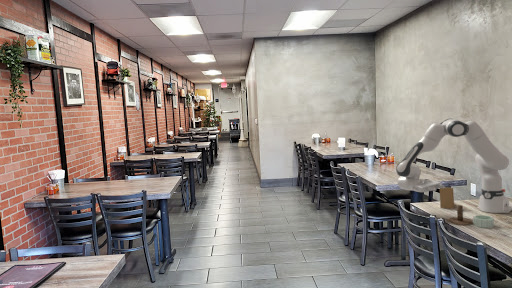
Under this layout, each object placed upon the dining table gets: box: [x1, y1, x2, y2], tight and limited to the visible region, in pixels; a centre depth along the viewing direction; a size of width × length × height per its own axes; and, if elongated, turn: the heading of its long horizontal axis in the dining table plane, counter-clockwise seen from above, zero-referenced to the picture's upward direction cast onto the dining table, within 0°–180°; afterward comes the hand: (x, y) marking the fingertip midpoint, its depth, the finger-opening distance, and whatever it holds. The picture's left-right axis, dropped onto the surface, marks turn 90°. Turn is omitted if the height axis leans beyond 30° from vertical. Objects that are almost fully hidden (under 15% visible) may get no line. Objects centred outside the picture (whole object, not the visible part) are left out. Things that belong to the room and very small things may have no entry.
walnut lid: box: [447, 204, 474, 226], centre depth 217 cm, size 13×13×10 cm
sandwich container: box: [439, 186, 455, 210], centre depth 253 cm, size 9×15×15 cm, turn 149°
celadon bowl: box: [473, 214, 495, 229], centre depth 208 cm, size 10×10×4 cm
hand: (440, 188), depth 226 cm, fingers open, 8 cm apart
